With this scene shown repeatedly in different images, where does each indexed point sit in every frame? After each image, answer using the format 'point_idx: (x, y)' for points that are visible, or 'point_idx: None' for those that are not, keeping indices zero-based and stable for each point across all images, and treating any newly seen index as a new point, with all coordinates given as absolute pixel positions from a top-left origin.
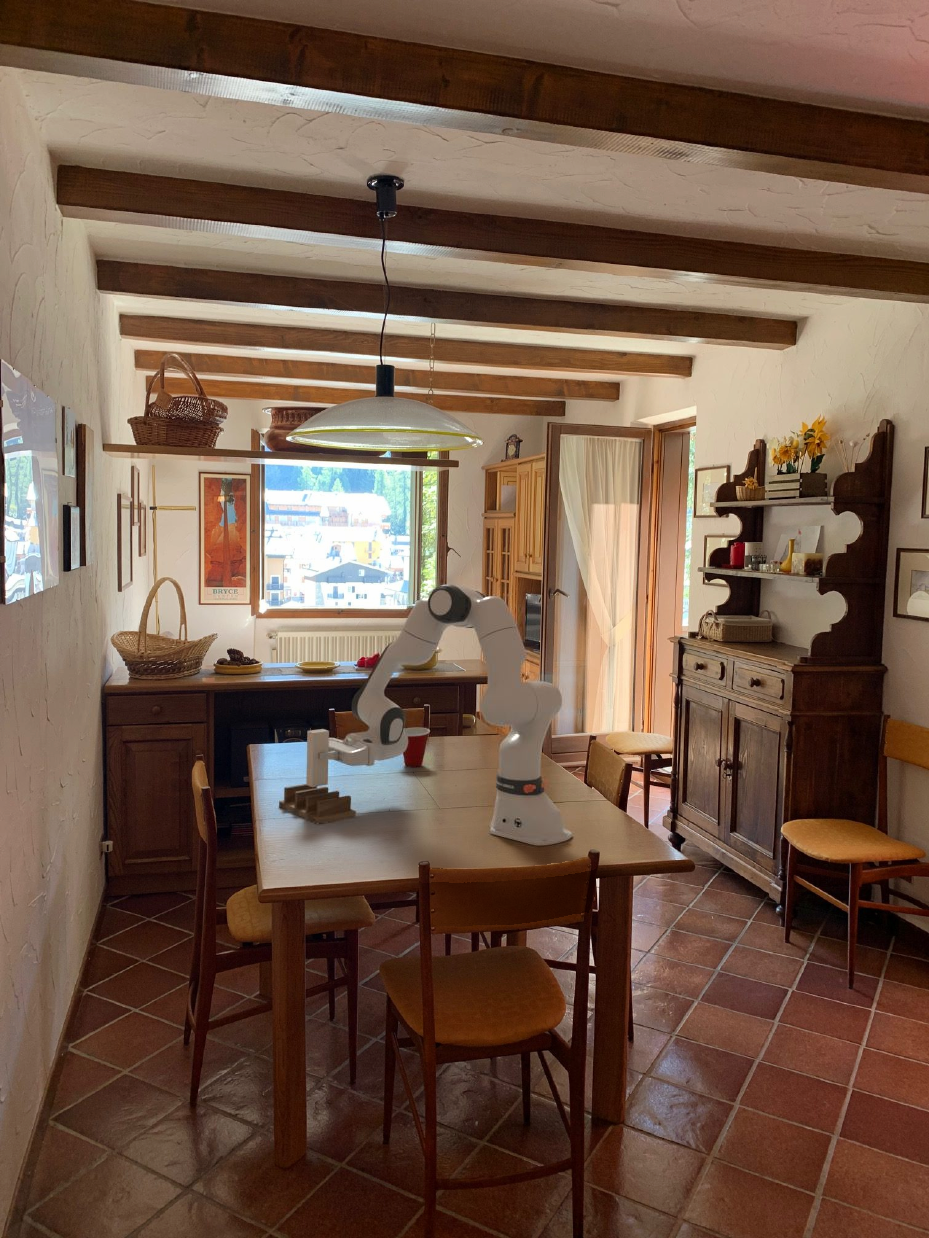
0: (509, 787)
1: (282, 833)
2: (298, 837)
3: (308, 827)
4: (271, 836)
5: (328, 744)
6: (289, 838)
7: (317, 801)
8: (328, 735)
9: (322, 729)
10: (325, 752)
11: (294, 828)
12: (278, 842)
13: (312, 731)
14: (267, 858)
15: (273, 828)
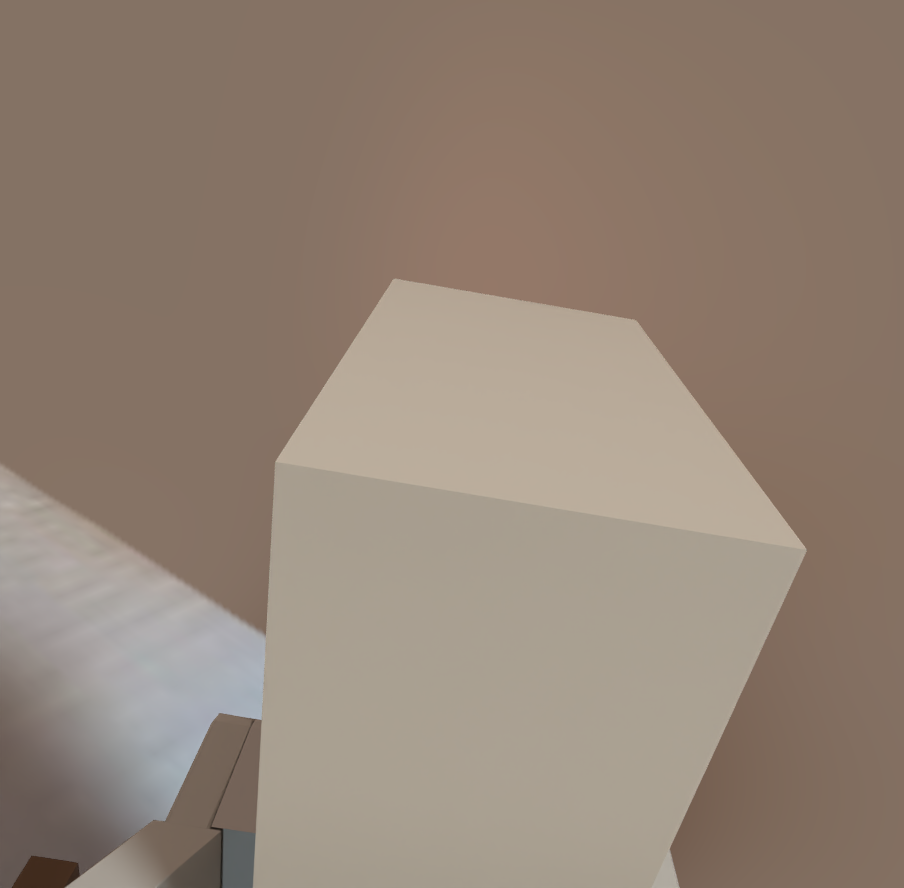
0: None
1: (159, 661)
2: (27, 668)
3: (72, 824)
4: (179, 610)
5: (254, 874)
6: (69, 636)
7: (71, 862)
8: (267, 619)
9: (700, 496)
10: (199, 817)
11: (153, 751)
12: (89, 582)
13: (541, 322)
14: (18, 481)
15: (263, 682)
